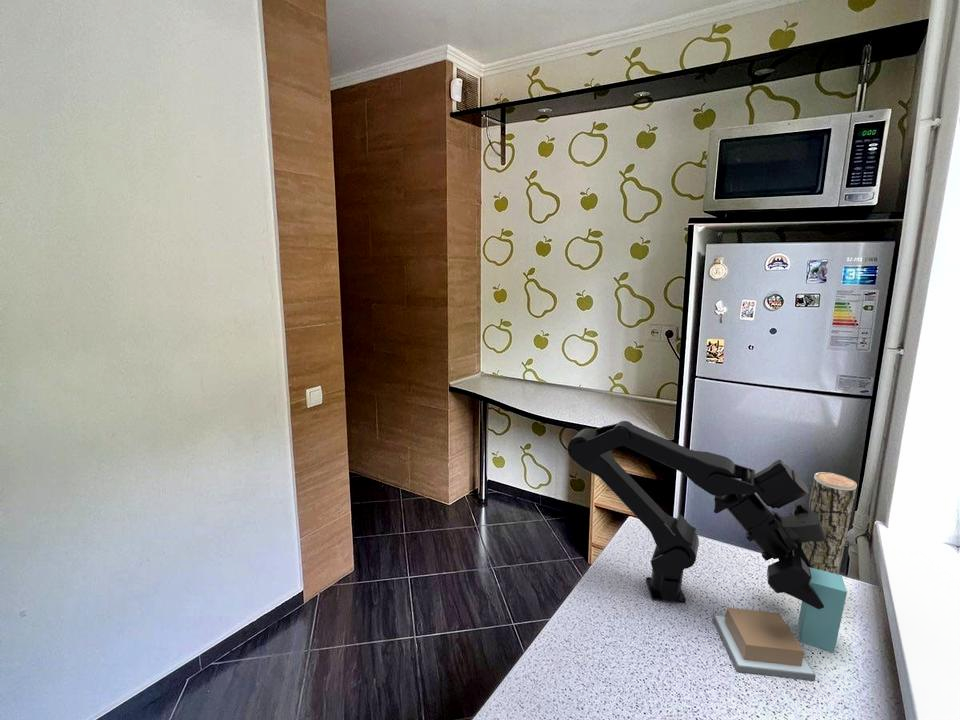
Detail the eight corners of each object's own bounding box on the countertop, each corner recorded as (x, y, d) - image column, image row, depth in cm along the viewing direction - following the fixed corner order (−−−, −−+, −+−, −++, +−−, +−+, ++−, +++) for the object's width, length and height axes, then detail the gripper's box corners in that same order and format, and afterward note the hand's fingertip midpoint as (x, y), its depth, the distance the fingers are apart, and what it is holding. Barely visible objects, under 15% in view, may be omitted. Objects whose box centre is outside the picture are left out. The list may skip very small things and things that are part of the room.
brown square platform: (712, 619, 95) (715, 600, 94) (780, 626, 93) (784, 607, 92) (736, 671, 83) (740, 650, 82) (814, 680, 82) (819, 659, 81)
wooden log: (832, 610, 98) (856, 491, 93) (791, 595, 102) (812, 480, 97) (834, 592, 103) (857, 479, 98) (795, 578, 107) (816, 469, 102)
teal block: (800, 642, 90) (812, 582, 87) (797, 624, 94) (808, 567, 91) (834, 653, 88) (847, 592, 85) (829, 634, 92) (841, 575, 89)
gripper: (803, 522, 80) (876, 606, 77) (792, 477, 96) (852, 545, 94) (741, 552, 85) (807, 632, 82) (740, 505, 101) (796, 570, 99)
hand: (817, 592), depth 89 cm, fingers open, 9 cm apart
